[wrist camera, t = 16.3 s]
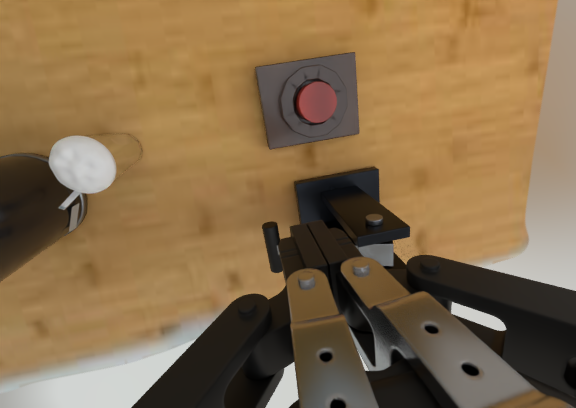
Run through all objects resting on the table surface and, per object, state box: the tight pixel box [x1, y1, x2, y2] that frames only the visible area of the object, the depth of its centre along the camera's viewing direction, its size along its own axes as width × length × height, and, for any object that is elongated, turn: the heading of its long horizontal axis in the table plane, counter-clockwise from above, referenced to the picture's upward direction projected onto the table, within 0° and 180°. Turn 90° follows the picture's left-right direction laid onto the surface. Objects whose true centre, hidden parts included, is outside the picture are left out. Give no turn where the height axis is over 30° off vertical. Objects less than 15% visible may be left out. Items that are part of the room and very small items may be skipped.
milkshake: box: [49, 134, 142, 210], centre depth 24 cm, size 4×5×10 cm
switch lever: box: [262, 222, 394, 273], centre depth 26 cm, size 12×5×2 cm, turn 98°
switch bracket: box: [294, 167, 410, 269], centre depth 29 cm, size 10×8×13 cm
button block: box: [255, 52, 359, 149], centre depth 28 cm, size 10×8×4 cm
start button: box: [296, 81, 337, 123], centre depth 26 cm, size 4×4×2 cm
